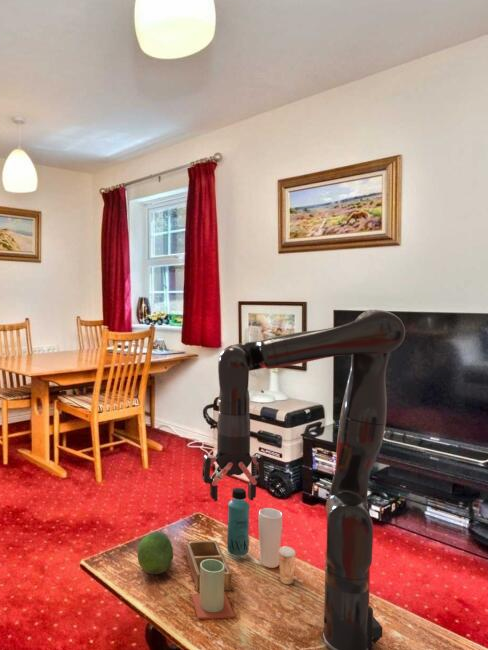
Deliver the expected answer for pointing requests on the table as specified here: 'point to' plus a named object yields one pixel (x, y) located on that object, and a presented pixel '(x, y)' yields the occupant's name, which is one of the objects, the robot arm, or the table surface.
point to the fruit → (155, 553)
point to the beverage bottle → (238, 523)
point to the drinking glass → (270, 536)
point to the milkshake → (287, 564)
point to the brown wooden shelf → (203, 551)
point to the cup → (212, 585)
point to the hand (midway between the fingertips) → (232, 499)
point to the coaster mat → (203, 614)
